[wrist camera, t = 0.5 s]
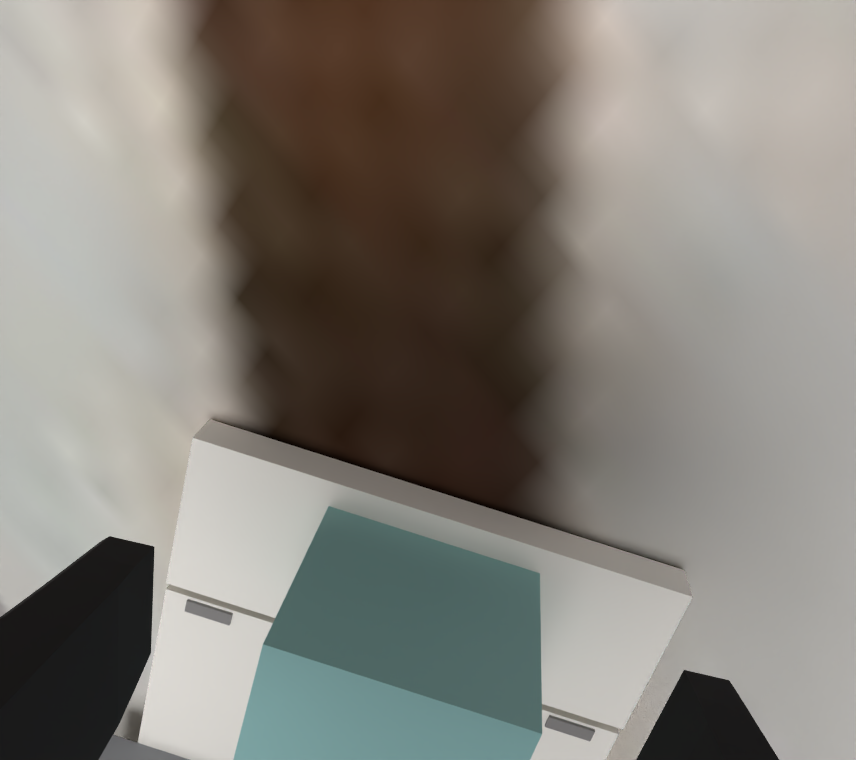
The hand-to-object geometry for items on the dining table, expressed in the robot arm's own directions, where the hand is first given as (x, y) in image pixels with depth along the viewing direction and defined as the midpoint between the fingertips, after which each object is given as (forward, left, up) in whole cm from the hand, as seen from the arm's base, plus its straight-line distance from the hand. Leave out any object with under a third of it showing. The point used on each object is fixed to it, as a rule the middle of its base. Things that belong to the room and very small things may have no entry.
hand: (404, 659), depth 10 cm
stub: (-6, 0, -11) cm, 12 cm away
